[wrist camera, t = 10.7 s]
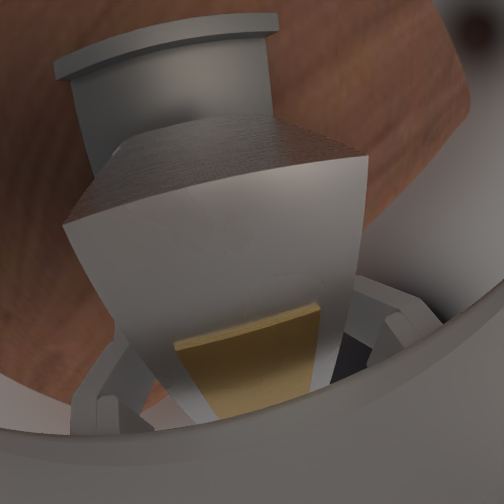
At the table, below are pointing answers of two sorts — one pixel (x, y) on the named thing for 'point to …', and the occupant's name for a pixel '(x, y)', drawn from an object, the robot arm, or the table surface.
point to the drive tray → (168, 77)
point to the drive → (227, 256)
